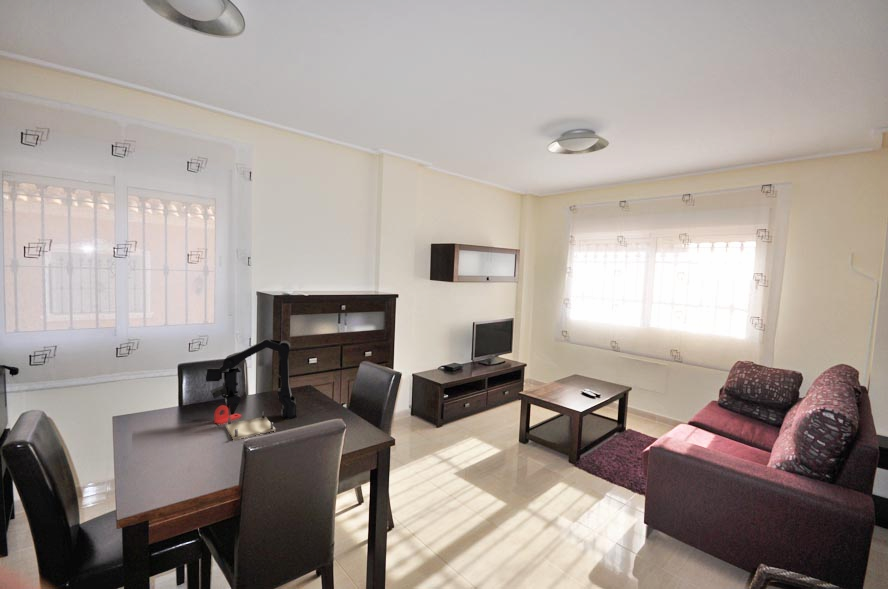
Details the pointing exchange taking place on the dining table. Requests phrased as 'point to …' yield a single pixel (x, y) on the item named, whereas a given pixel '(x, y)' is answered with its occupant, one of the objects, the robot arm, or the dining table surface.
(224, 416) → the bracket
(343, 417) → the dining table surface
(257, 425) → the peg board
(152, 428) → the dining table surface
